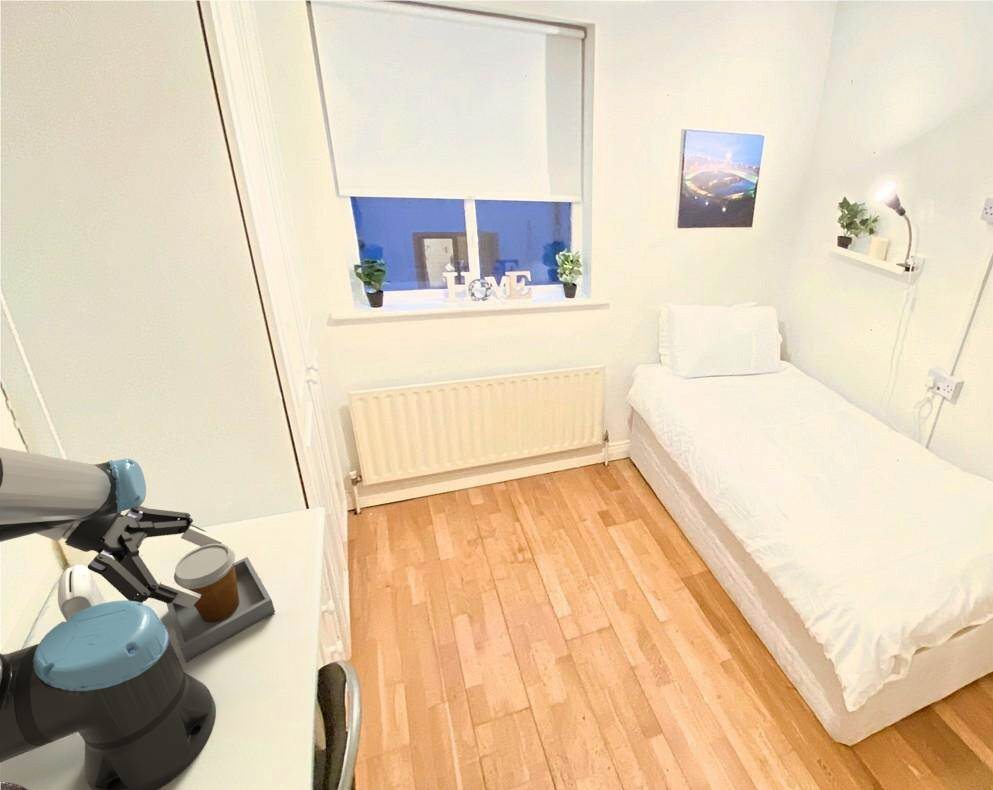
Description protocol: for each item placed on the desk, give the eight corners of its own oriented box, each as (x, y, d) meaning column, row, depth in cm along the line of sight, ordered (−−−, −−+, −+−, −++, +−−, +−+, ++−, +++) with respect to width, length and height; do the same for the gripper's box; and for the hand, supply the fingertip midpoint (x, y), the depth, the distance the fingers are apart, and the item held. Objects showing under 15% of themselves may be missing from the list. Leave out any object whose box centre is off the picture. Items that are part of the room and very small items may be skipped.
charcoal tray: (275, 612, 86) (271, 599, 84) (186, 662, 77) (180, 648, 75) (251, 569, 95) (247, 556, 94) (169, 609, 87) (164, 596, 85)
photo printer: (81, 615, 86) (54, 566, 80) (110, 603, 88) (85, 555, 83) (81, 654, 78) (50, 603, 73) (112, 640, 81) (85, 590, 76)
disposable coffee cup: (206, 590, 90) (188, 543, 85) (256, 585, 91) (241, 539, 86) (181, 633, 81) (159, 583, 76) (237, 627, 82) (219, 578, 77)
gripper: (105, 491, 85) (215, 539, 94) (15, 597, 63) (170, 645, 72) (129, 463, 84) (237, 514, 93) (45, 560, 62) (198, 614, 71)
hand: (208, 571), depth 83 cm, fingers open, 13 cm apart
